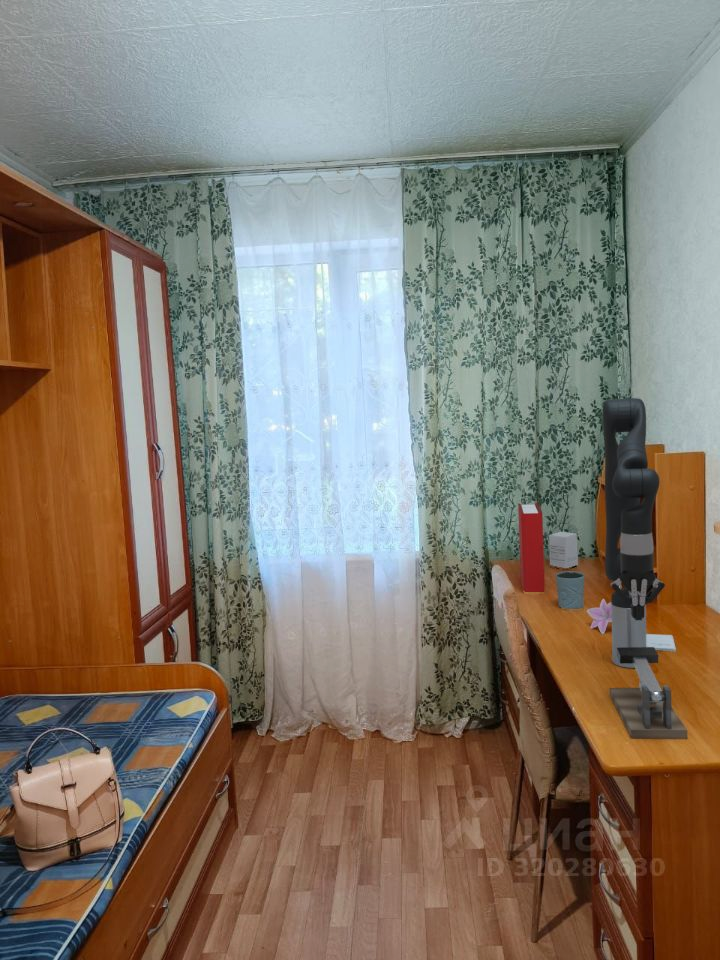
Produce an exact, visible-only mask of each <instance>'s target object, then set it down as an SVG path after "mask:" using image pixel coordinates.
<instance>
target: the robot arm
mask: <svg viewBox="0 0 720 960" xmlns="http://www.w3.org/2000/svg"><path fill="white" fill-rule="evenodd" d="M646 410H647V409H646V406H645V403H644V401H643V400H642V399H641V398H635V397H633V398H632V397H630V398H611V399H606V400H605V401H604V403H603V404H602V410H601V411H602V412H601V413H602V430H603V431H602V432H603V441H604V442H603V444H604V470H605V471H604V502H605V503H604V504H605V506H604V507H605V520H606V523H605V524H606V525H605V526H606V527H605V529H606V530H605V553H604V554H605V556H604V568H605V575H606V578H607V579H608V580H609V581H610V583H609V585H610V587H611V588H612V589H613V593H612V594H611V597H610V602H611V613H612V624H611V647H612V648H611V653H612V655H611V656H612V663H613V664H614V665H616V666H619V667H621V668H628V669H633V668H635V667H634V665H633V663H622V664H620V662H619V660H618V657H617V648H620V647H646V634H647V605H646V604H652V603H653V602H654V601H655V599H656V598H657V597H658V596H659V594H660V593H661V592H662V591H663V589H664V588H665V586H666V584H665V583H664V582H663V581H662V580H659V579H657V576H656V573H655V571H654V550H655V547H654V539H653V520H652V519H653V510H654V504H655V501H656V497H657V494H658V491H659V489H660V488H659V487H660V476H659V473H657V471H656V470H655V469H652V468H648V467H649V461H648V455H647V450H646V449H647V448H646V441H647V440H646V439H647V411H646ZM616 433H627V434H626V435H625V436H624V437H623V438H621V440H620V442H619V443H618V441H617V438H616ZM641 499H642V500H641ZM619 544H620V546H619ZM619 547H620V548H619ZM622 584H623V586H624V588H623V586H622ZM651 586H652V588H651ZM650 588H651V589H650ZM649 589H650V591H648V590H649ZM647 591H648V593H647Z"/></svg>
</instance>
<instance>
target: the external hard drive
mask: <svg viewBox="0 0 720 960" xmlns="http://www.w3.org/2000/svg"><path fill="white" fill-rule="evenodd" d="M646 647H654V648H655V650H658V651H657V652H665V651H671V653H676V652H677V649H676V645H675V640H674V636H673V635H672V634H653V633H651V634H650V633H646ZM672 651H673V652H672Z"/></svg>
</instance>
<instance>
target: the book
mask: <svg viewBox="0 0 720 960" xmlns="http://www.w3.org/2000/svg"><path fill="white" fill-rule="evenodd" d="M517 504H518V505H517V508H518V509H517V510H518V511H517V513H518V536H519V564H520V565H519V567H520V569H519V570H520V581H521V580H522V582H521V586H522V585H523V587H522V591H523V590H524V591H525V592H544V591H545V590H546V588H545V561H544V560H545V558H544V553H545V552H544V526H543V525H544V522H543V511H542V507H540V504H539V502H536V503H534V504H521V503H519V502H518V503H517ZM545 592H546V591H545Z"/></svg>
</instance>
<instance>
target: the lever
mask: <svg viewBox="0 0 720 960" xmlns="http://www.w3.org/2000/svg"><path fill="white" fill-rule="evenodd" d="M617 657H618V660H619V662H620V664H622V663H633V665H634V667H635V670H636V674H637V675H638V677H639V681H638V683H639V685H638V688H640V690H641V692H642V685H646V686H647V687H648V689H649V690H650V702H664V701H665V696H664V692H663V689H662V688H661V685H660V683H659V681H658V680H657V678H656V676H655V673H654V672H653V670H652V668H651V667H652V666H650V664H659V654H658V651H656V650H655V648H654V647H620V648H617Z"/></svg>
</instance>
